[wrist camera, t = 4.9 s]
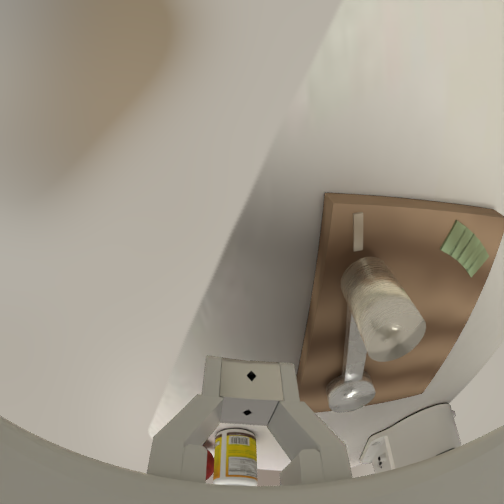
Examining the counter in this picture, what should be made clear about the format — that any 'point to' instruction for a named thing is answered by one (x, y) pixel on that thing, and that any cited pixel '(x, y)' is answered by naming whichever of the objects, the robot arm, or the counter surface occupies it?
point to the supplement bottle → (235, 458)
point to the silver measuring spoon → (372, 330)
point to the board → (408, 275)
